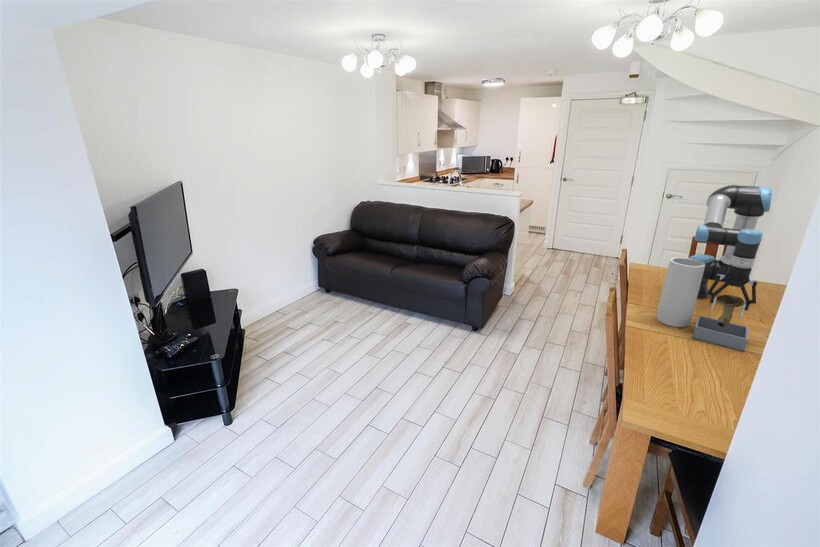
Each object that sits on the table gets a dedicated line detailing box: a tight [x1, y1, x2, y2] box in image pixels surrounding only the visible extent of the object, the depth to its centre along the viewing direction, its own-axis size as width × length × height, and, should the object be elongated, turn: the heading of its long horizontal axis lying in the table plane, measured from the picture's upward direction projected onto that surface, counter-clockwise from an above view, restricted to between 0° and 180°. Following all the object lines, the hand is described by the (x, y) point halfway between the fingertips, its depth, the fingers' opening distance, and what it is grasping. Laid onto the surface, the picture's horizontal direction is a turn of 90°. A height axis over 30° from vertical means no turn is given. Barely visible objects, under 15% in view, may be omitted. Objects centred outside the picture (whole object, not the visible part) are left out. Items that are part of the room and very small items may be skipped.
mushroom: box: [716, 294, 745, 327], centre depth 172 cm, size 9×9×15 cm
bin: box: [691, 315, 749, 353], centre depth 176 cm, size 15×19×6 cm
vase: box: [655, 257, 705, 328], centre depth 187 cm, size 14×14×32 cm
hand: (726, 313), depth 172 cm, fingers closed on mushroom, 9 cm apart
